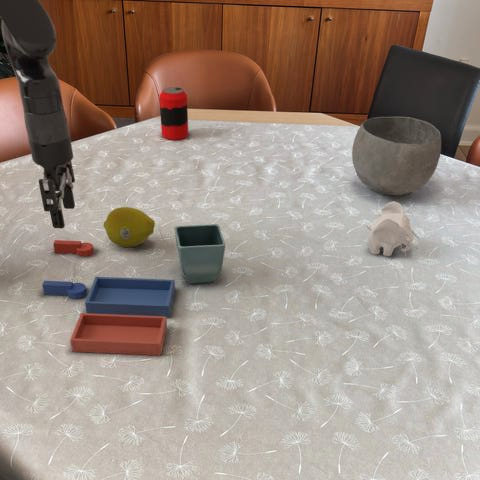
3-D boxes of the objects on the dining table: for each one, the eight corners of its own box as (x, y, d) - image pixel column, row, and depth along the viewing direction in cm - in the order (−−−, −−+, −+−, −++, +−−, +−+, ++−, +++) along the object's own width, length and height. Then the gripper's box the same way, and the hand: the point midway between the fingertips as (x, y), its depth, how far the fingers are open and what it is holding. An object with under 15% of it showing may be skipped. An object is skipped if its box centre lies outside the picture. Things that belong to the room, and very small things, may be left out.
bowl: (376, 214, 151) (387, 148, 141) (332, 180, 165) (339, 118, 154) (448, 200, 158) (463, 136, 147) (400, 168, 171) (411, 108, 161)
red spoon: (53, 255, 134) (51, 245, 133) (57, 247, 137) (56, 237, 135) (92, 257, 134) (90, 247, 133) (95, 248, 137) (94, 239, 135)
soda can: (193, 136, 186) (192, 90, 177) (174, 142, 182) (171, 96, 173) (175, 129, 189) (173, 84, 181) (156, 135, 185) (153, 90, 177)
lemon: (99, 249, 137) (94, 213, 131) (114, 233, 142) (110, 197, 137) (147, 257, 135) (144, 221, 129) (160, 240, 140) (158, 204, 135)
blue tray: (86, 313, 119) (84, 302, 117) (97, 287, 126) (95, 276, 124) (169, 317, 119) (168, 306, 117) (175, 290, 125) (174, 279, 124)
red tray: (72, 351, 111) (70, 340, 109) (82, 324, 117) (80, 312, 115) (161, 355, 110) (160, 343, 109) (167, 327, 116) (166, 316, 115)
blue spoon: (42, 297, 123) (40, 287, 121) (47, 287, 125) (45, 277, 124) (84, 299, 123) (83, 289, 121) (88, 289, 125) (87, 279, 124)
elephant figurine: (414, 265, 134) (423, 225, 128) (356, 256, 137) (362, 216, 131) (418, 244, 141) (427, 205, 135) (363, 235, 143) (370, 196, 137)
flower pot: (219, 264, 133) (218, 223, 127) (225, 287, 127) (225, 244, 121) (176, 267, 132) (173, 225, 126) (180, 290, 126) (178, 247, 119)
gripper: (39, 120, 124) (55, 201, 136) (16, 148, 114) (36, 233, 125) (77, 121, 124) (90, 202, 135) (58, 149, 114) (74, 235, 125)
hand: (64, 217), depth 130 cm, fingers open, 8 cm apart
